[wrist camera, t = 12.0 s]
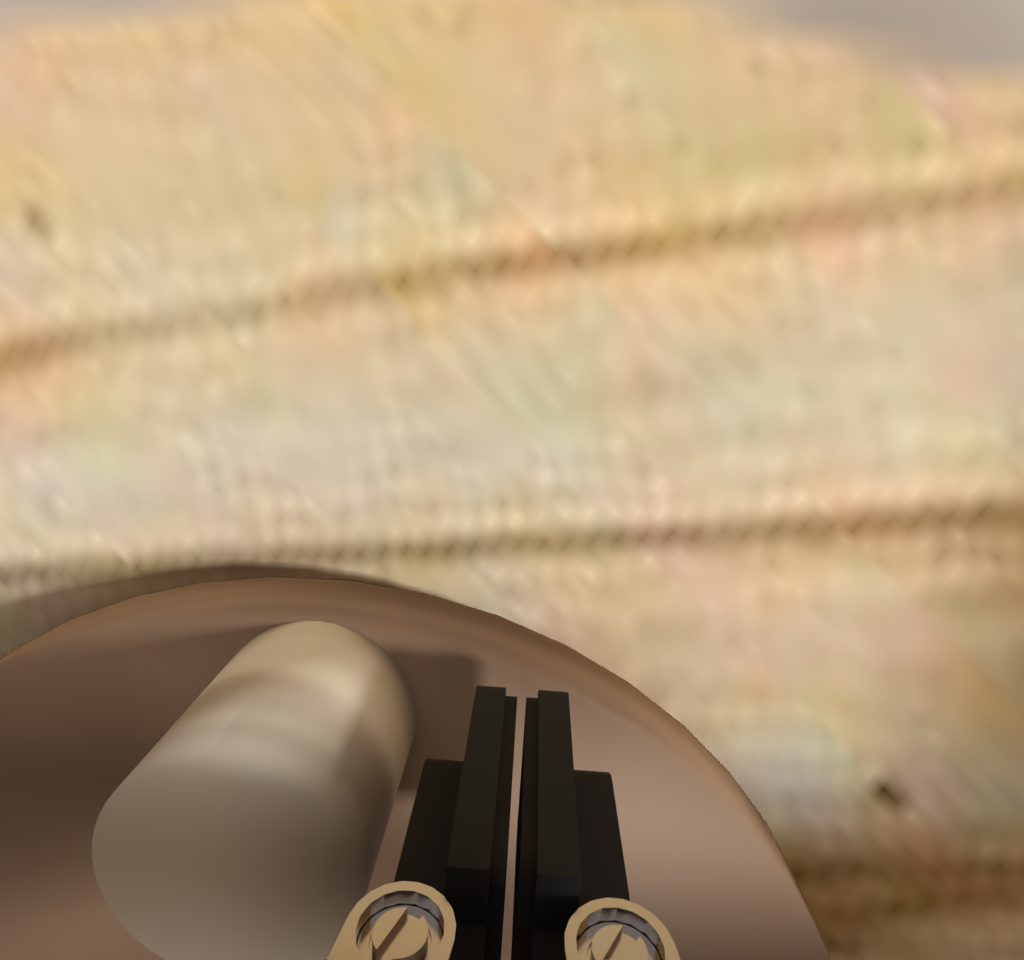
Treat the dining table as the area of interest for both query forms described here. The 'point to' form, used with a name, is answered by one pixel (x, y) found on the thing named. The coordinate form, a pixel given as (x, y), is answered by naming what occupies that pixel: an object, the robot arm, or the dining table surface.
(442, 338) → the dining table surface
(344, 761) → the turntable
